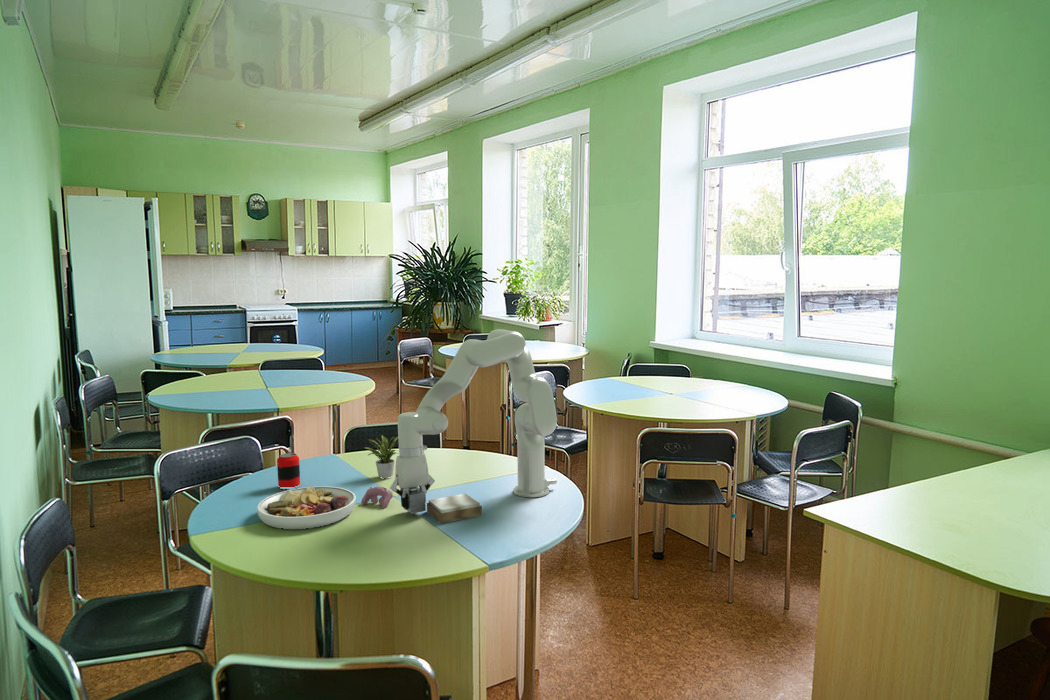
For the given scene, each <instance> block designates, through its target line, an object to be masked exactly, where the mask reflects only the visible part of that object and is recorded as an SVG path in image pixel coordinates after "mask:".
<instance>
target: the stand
mask: <svg viewBox="0 0 1050 700" xmlns="http://www.w3.org/2000/svg"><path fill="white" fill-rule="evenodd" d="M426 513H427V514H429V515H430V516H431V515H432V516H433V517H432V516H431V517H432V518H434V519H435V520H436V521H437V520H438V521H439V522H438V521H437V522H438V523H440V524H441V523H442V524H445V522H447V523H451V522H450V521H452V522H456V520H457V521H460V520H461V521H462V520H467V519H470V518H471V519H472V518H476V517H481V515H482V516H483V507H482V505H481V503H480V502H479V501H478V500H477V499H474V498H473V497H472V496H471V495H468V494H467V493H461V494H455V495H450V496H445V497H438V498H433V499H428V502H426Z"/></svg>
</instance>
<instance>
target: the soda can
mask: <svg viewBox="0 0 1050 700" xmlns="http://www.w3.org/2000/svg"><path fill="white" fill-rule="evenodd" d="M276 466H277V467H276V469H277V470H276V471H277V486H278V485H279V486H280V487H295V486H298V485H299V484H300V485H301V473H300V471H301V470H300V468H301V467H300V457H299V456H298V455H297V454H296V452H295V453H292V452H287V453H286V452H285V453H282V454H279V456H278V457H277V459H276Z"/></svg>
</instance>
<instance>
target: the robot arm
mask: <svg viewBox="0 0 1050 700" xmlns="http://www.w3.org/2000/svg"><path fill="white" fill-rule="evenodd" d="M526 344H527V343H526V339H525V338H524V336H523V335H522V334H521V333H520V332H518V331H515V330H508V329H502V328H497V329H494V330H491V331H490V332H489V333H488V335H487V339H485V340H481V339H474V338H473V339H471V338H470V339H467V340H465V341H463V342H462V344H460V346H459V348H458V350H457V351H456V353H455V355H454V357H453V358H452V360H451V362H450V364H449V366H448V367H447V369H446V371H445V372H444V374H443V375H442V376H441V378H440V379H439V380H437V382H436V383H434V385H433V386H432V387H431V388H429V390H428V391H427V392H426V394H425V395H424V396H423V397H422V400H421V402H420V403H419V405H418V407H417V409H416V410H415V412H414V411H409V412H408V411H407V412H402V413H400V414H399V415H398V416H397V435H398V436H397V437H398V439H397V440H398V455H397V456H396V460H395V465H394V472H395V473H394V480H393V482H392V484H391V485H390V487H389V490H390V491H391V492H394V493H396V494H398V496H400V504H401V507H402V508H403V510H405V511H407V509H408V502H407V497H406V493H407V488H412V487H418V488H420V489H421V490H422V491H424V492H425V503H427V500H426V499H427V498H426V494H427V493H428V490H429V489H430V488H431V486H432V485H434V483H435V482H436V480H435V479H434V478H433V477H432V476H431V475H430V474H429V467H428V461H427V457H426V454H425V450H428V446H427V445H424V443H423V441H424V440H423V435H433V436H434V435H439V434H442V433H443V432H445V431H446V430H447V428H448V425H449V420H448V417H447V416H446V414H444V413H443V412H441V409H442V408H443V407H444V406H445V404H446V403H447V402H448V401H449V400H450V399H451V398H452V397H454V396H456V395H458V394H461V393H462V392H464V391H466V389H467V388H468V387H469V385H470V383H471V381H472V379H473V377H474V375H475V374H476V372H477V370H478V369H479V368H486V367H487V368H488V367H490V366H495V365H499V364H501V363H503V362H506V364H507V367H508V370H509V375H510V381H511V386H512V391H513V392H512V393H513V395H514V397H515V398H516V399H517V400H519V401H521V402H524V403H523V404H521V405H519V407H517V408H516V411H515V412H514V413H515V414H514V426H515V430H516V440H517V441H516V443H517V444H516V445H517V446H516V447H517V485H516V486H514V488H513V490H512V491H513V494H514V495H516V496H518V497H522V498H541V497H544V496H546V495H548V494H549V493H550V488H549V486H550V485H556V484H557V482H558V481H557V479H556V478H551V479H550V478H549V477H545V474H546V473H545V469H546V468H545V467H546V466H545V448H546V447H545V437H547V436H549V435H552V433H553V432H554V431H555V430H556V428H557V424H558V417H557V410H556V403H555V398H554V393H553V389H552V386H551V384H550V382H549V381H547V380H546V379H545V378H543V377H541V376H537V374H536V371H535V367H534V362H533V358H532V355H531V353H530V351H529V349H528V347H527V346H526ZM397 486H398V487H399V488H400V489H399V488H397Z"/></svg>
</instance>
